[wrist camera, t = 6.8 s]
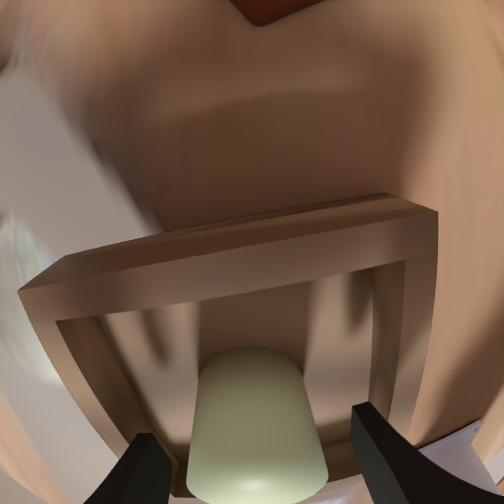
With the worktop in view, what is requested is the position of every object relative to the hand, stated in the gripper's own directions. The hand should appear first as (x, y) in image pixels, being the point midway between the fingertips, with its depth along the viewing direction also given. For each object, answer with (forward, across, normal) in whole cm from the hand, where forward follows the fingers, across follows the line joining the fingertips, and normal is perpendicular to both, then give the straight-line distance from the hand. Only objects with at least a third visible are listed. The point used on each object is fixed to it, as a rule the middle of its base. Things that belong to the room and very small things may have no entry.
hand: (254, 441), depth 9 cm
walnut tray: (+4, 0, 0) cm, 4 cm away
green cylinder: (+3, 0, 0) cm, 3 cm away
